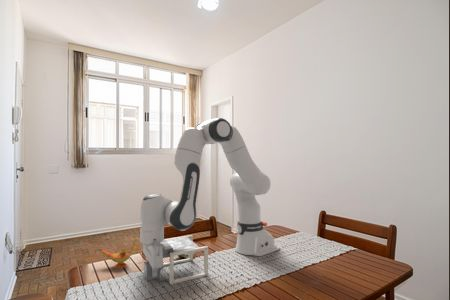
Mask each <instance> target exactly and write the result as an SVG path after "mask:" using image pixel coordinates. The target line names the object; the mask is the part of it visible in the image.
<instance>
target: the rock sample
mask: <svg viewBox="0 0 450 300" xmlns="http://www.w3.org/2000/svg"><path fill="white" fill-rule="evenodd" d="M176 256H177V257H179V258H184V259H187V258H189V253H187V254H182V255H176ZM176 256H175V257H176ZM195 256H196V254H195V252H193V258H194V257H195Z"/></svg>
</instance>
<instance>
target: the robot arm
mask: <svg viewBox="0 0 450 300" xmlns="http://www.w3.org/2000/svg"><path fill="white" fill-rule="evenodd" d="M217 143H218V144H219V145H220V146H221V149H222V150H223V153H224V156H225V157H226V159H227V163H228V165H229V166H230V168H231V169H232V170H233V171H234V173H233V174H232V175H231V176H230V178H229V185H230V187H231V188H232V190H233V191H234V195H235V199H236V202H237V218H238V219H237V220H238V221H237V226H236V227H237V237H236V238H237V239H236V245H235V248H234V250H235V252H237V253H239V254H241V255H245V256H256V257H262V256H265V255H268V254H270V253H273V252H276V251H279V250H280V246H279V245H278V244H276V243H275V238H274V236H273V235H272V234H271V233H270V232H269V231H267V230H266V229H265V228H264V227H266V228H267V227H268V223H267V222H265V221H261V205H260V203H259V202H258V201H257V198H256V196H261V195H262V196H263V195H266V194H267V193H268V192H269V190H270V189H271V179H270V177H269V176H268V175H267V174H265V173H264V172H262V170H261V169H260V168H259V166H258V165H257V164H256V163H255V161H254V160H253V159H252V156H251V154H250V152H249V150H248V147H247V145H246V143H245V140H244V138H243V136H242V135H241V133H240V131H239V130H238V129H237V127H235V126H233V125H231V124H230V122H229V121H228V120H227V119H225V118H222V117H215V118H212V119H211V118H210V119H207V120H205V121H203V122H200V123H199V124H197V125H196V126H195V127H192V126H191V127H187V128H186V129H184V131H183V132H182V135H181V137H180V139H179V140H178V144H177V146H176V150H175V155H174V162H173V163H174V166H175V168H176V169H177V171H179V173H180V174H181V177H182V187H181V191H180V197H179V201H178V200H175V199H171V198H169V197H166V196H164V195H163V194H162V193H151V194H148V195H145V196H144V197H143V198H142V200H141V203H140V220H141V226H140V229H139V230H140V231H139V238H140V239H139V240H140V243H141V248H142V249H141V250H142V253H143V255H144V256H145V258H146V262H149V263H150V265H151V267H152V277H156V276H157V271H158V269H160V270H161V269H162V268H163V267H164V266H163V263H164V258H163V251H162V247H161V245H160V242H162V241H163V240H164V239H165V236H164V235H165V232H164V231H165V225H170V226H171V227H173V228H174V229H175V230H178V231H179V232H183V231H184V232H185V231H186V230H187V231H188V230H190V228H192V227H193V225H194V224H195V222H196V219H197V207H196V204H197V198H198V197H197V196H198V190H199V184H200V177H201V176H200V175H201V171H200V166H201V165H200V164H201V159H202V154H203V150H204V148H205V145H215V144H217Z"/></svg>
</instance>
